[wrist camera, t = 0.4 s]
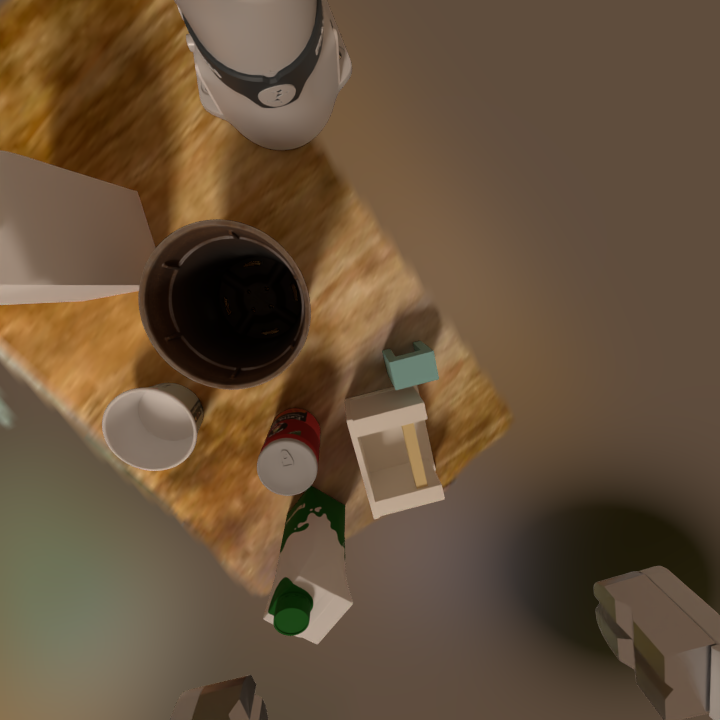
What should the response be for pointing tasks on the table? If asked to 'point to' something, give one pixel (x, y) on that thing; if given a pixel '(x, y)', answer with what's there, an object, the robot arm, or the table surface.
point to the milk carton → (310, 569)
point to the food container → (153, 426)
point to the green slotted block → (411, 366)
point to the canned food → (290, 453)
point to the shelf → (393, 449)
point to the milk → (67, 235)
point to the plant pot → (207, 309)
